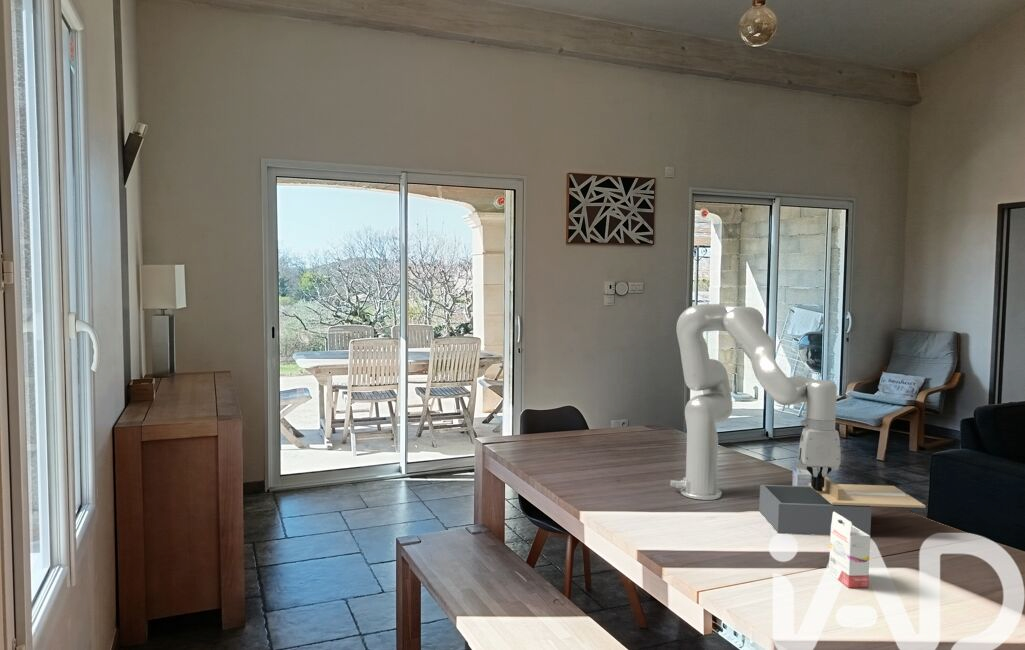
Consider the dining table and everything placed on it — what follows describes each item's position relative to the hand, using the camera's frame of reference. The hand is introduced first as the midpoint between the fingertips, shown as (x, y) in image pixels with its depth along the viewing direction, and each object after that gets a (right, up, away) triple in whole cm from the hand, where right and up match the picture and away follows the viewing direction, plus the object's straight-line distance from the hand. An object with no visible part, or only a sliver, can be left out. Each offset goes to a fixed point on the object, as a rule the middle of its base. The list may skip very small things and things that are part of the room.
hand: (817, 489), depth 197 cm
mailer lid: (+13, -1, -1) cm, 13 cm away
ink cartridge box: (-9, -12, -37) cm, 40 cm away
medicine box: (+5, -9, +24) cm, 26 cm away
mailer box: (-1, -10, +1) cm, 10 cm away
